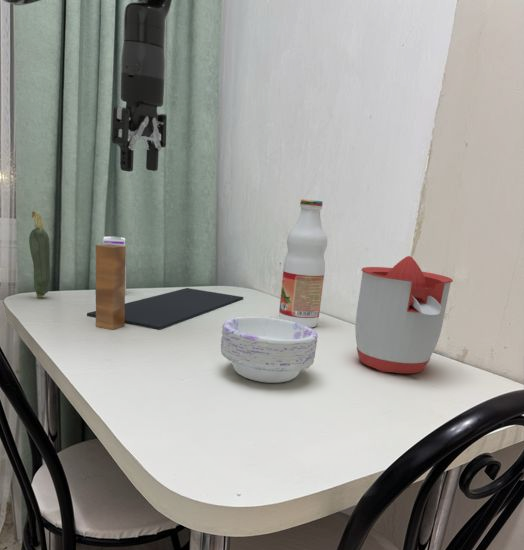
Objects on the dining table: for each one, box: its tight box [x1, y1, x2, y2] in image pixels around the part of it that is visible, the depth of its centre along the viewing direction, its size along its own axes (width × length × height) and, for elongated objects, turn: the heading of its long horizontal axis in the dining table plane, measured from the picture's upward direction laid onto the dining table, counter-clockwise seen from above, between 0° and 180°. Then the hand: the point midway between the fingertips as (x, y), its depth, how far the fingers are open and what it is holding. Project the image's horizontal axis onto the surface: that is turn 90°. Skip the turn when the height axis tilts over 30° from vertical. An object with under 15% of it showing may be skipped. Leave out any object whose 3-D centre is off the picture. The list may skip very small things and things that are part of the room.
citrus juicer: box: [354, 255, 454, 374], centre depth 90 cm, size 16×17×20 cm
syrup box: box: [102, 236, 127, 296], centre depth 132 cm, size 6×6×14 cm
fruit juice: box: [278, 199, 328, 329], centre depth 115 cm, size 9×9×28 cm
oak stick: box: [95, 244, 127, 330], centre depth 99 cm, size 4×4×16 cm
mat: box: [86, 287, 244, 331], centre depth 125 cm, size 44×18×1 cm, turn 159°
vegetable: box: [28, 210, 51, 299], centre depth 117 cm, size 4×4×20 cm
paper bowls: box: [220, 316, 319, 384], centre depth 81 cm, size 15×15×8 cm
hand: (139, 170), depth 96 cm, fingers open, 8 cm apart
